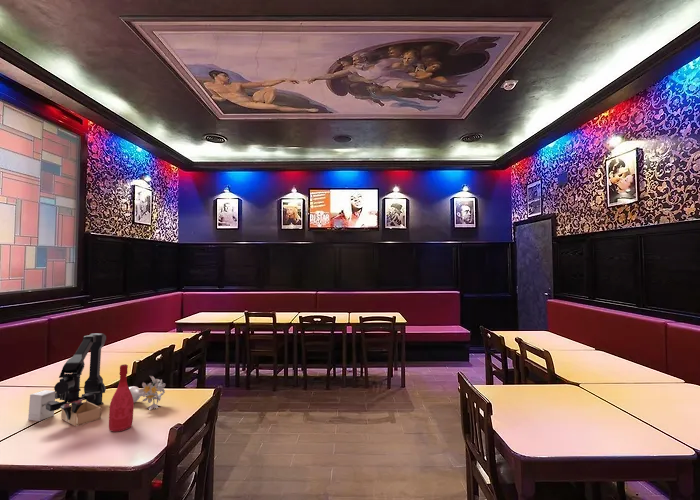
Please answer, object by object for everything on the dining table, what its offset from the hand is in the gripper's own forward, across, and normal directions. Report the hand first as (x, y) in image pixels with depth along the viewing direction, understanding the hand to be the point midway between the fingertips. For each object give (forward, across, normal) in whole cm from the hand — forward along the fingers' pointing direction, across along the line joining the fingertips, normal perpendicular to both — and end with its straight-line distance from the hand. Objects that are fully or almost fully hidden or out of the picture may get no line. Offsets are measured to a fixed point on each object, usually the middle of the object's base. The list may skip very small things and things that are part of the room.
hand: (70, 419), depth 174 cm
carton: (+2, -6, -2) cm, 7 cm away
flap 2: (+2, 0, +2) cm, 3 cm away
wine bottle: (+2, -10, +26) cm, 28 cm away
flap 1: (+2, 0, -6) cm, 7 cm away
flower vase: (+2, -32, +6) cm, 33 cm away
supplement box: (+2, +5, -20) cm, 21 cm away
